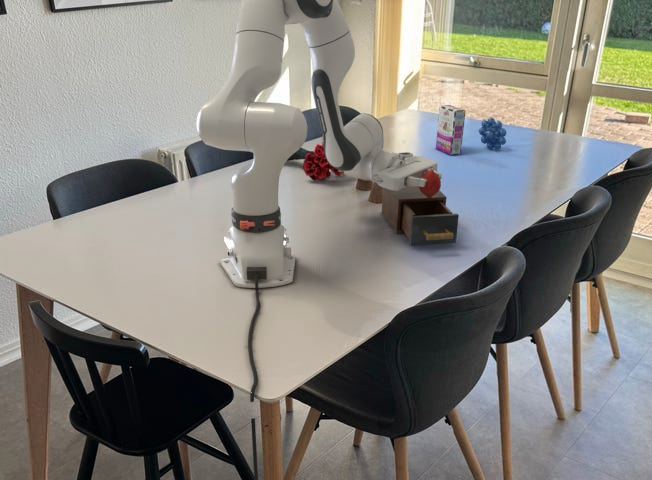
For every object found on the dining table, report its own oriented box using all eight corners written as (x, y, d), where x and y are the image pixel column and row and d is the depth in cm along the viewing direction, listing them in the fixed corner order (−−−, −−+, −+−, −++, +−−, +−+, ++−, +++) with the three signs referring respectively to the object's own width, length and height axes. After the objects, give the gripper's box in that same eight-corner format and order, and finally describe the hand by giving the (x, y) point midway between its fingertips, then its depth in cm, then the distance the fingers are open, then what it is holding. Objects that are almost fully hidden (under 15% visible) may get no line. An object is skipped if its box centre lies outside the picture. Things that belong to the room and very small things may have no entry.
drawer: (462, 250, 184) (465, 221, 180) (416, 253, 182) (418, 224, 178) (437, 222, 201) (439, 196, 197) (395, 225, 199) (396, 198, 195)
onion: (414, 199, 186) (416, 169, 182) (422, 193, 190) (424, 163, 186) (435, 202, 184) (437, 172, 180) (442, 196, 188) (445, 166, 184)
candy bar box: (461, 154, 267) (466, 110, 259) (450, 155, 265) (455, 111, 257) (445, 147, 276) (449, 104, 267) (435, 148, 274) (438, 105, 266)
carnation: (276, 183, 259) (349, 198, 238) (246, 157, 244) (320, 172, 223) (294, 145, 260) (368, 157, 239) (264, 117, 245) (340, 128, 224)
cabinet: (443, 230, 198) (446, 196, 193) (396, 233, 196) (398, 199, 191) (425, 210, 213) (428, 178, 207) (381, 213, 210) (383, 181, 205)
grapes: (472, 149, 274) (475, 117, 268) (479, 145, 279) (483, 114, 273) (499, 154, 268) (504, 121, 262) (507, 150, 273) (511, 118, 267)
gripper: (367, 166, 183) (411, 177, 175) (411, 150, 196) (454, 160, 189) (366, 189, 186) (410, 201, 179) (410, 172, 200) (451, 183, 192)
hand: (433, 180), depth 184 cm, fingers closed on onion, 5 cm apart
